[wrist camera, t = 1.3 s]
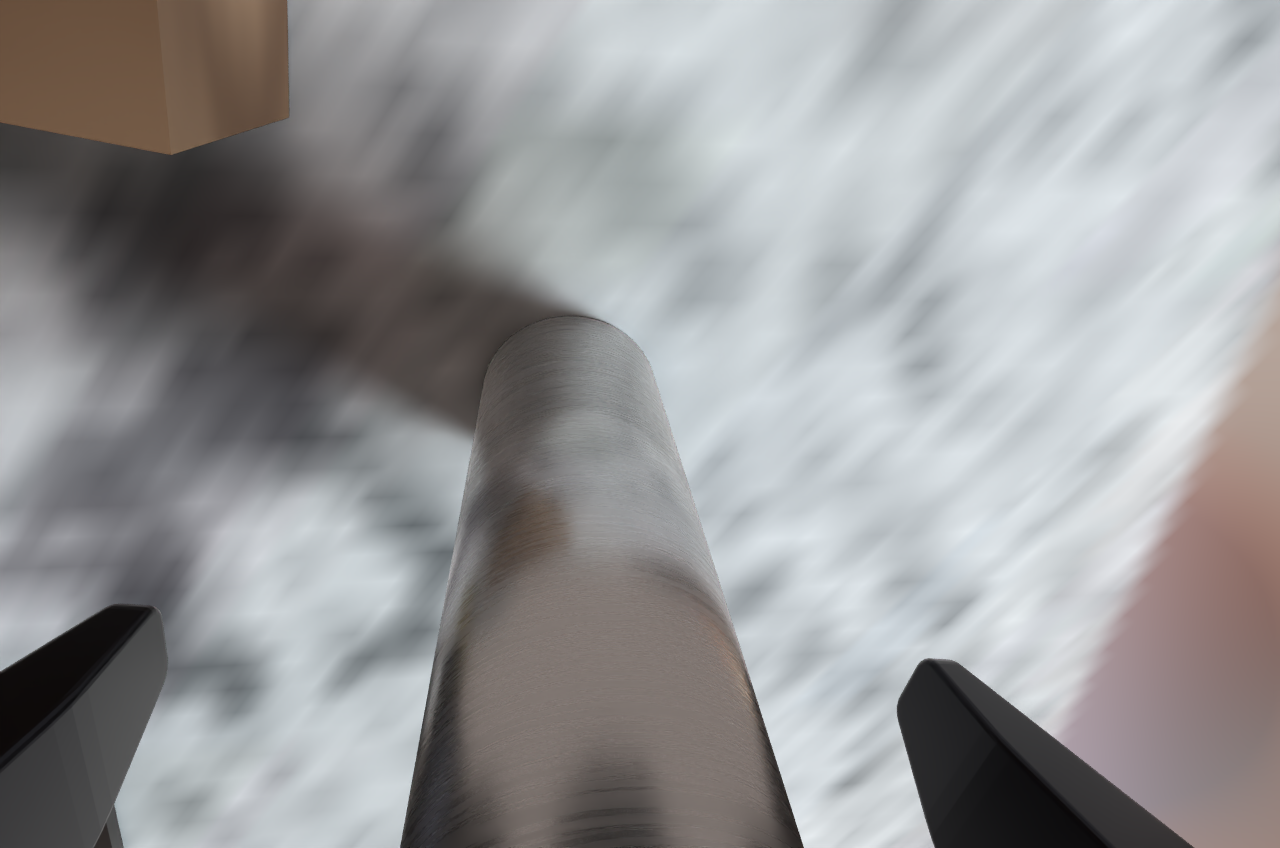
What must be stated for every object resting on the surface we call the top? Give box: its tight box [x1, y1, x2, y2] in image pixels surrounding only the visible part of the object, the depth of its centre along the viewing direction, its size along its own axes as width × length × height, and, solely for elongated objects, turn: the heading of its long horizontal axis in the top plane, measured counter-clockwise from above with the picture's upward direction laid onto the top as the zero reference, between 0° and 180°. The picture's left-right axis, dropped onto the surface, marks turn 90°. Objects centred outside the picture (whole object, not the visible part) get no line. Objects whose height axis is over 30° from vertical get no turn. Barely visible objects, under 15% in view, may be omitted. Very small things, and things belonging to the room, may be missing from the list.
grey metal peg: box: [400, 316, 804, 848], centre depth 10 cm, size 4×4×10 cm
